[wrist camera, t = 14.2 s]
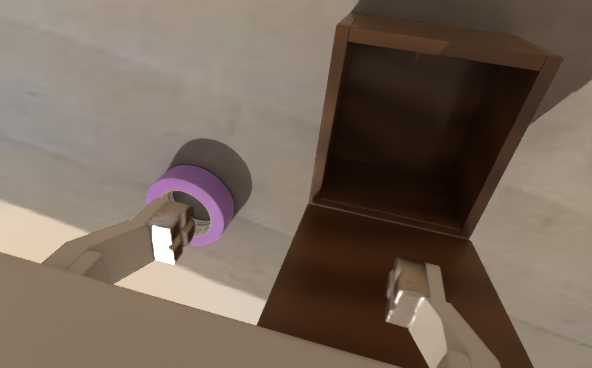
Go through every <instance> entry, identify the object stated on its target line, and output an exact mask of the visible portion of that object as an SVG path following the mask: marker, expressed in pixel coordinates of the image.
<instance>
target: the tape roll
mask: <svg viewBox="0 0 592 368" xmlns="http://www.w3.org/2000/svg"><path fill="white" fill-rule="evenodd" d="M173 191H181V192H185V193H187V194H190V195H192V196H193V197H195V198H196V199H198V200H199V201H200V202H201V203H202V204H203V205H204V206H205V208H206V209H207V211H208V213H209V215H210V220H206V221H204V220H198V219H195V218H193V217H192V219H193V220H194V222H195V233H194V236H193V238H192V240H191V242H190V243H189V245H193V246H205V245H210V244H212V243H214V242H216V241H217V240H218V239H219V238H220V237H221V235H222V234H223V232H224V231H225V229H226V228H227V226H228V224H229V223H230V221H231V220H232V218H233V215H234V202H233V199H232V196H231V194H230V192H229V190H228V189H227V187H226V186H225V185H224V184H223V182H222V181H221V180H220V179H218V178H217V177H216V176H215V175H213V174H212V173H210V172H209V171H207V170H205V169H202V168H200V167H196V166H192V165H179V166H176V167H173V168H171V169H169V170H168V171H167V172H166V173H165V174H163V175H162V176H161V177H160V178H159V179H158V180H157V181H156V182H154V183H153V184H152V185H151V187H150V188H149V190H148V192H147V196H146V203H147V206H148V205H149V204H150V203H151V202H152V201H153V200H154V199H155V198H158V197H159V198H163V199H166V200H171V201H175V200H174V197H173Z"/></svg>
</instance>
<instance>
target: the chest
mask: <svg viewBox="0 0 592 368" xmlns="http://www.w3.org/2000/svg"><path fill="white" fill-rule="evenodd" d="M562 61H563V58H562V57H560V56H558V55H555V54H553V53H551V52H549V51H547V50H545V49H543V48H540V47H538V46H536V45H534V44H532V43H530V42H527V41H525V40H523V39H521V38H519V37H517V36H513V35H505V34H498V33H491V32H484V31H477V30H470V29H463V28H456V27H449V26H442V25H435V24H428V23H421V22H414V21H407V20H400V19H393V18H386V17H379V16H372V15H365V14H358V13H349V14H348V15H347V16H346V17H345V18H344V19H343V20H342V21H341V22H340V23H338V24H337V26H336V32H335V38H334V44H333V51H332V57H331V64H330V70H329V76H328V83H327V89H326V96H325V102H324V108H323V115H322V121H321V128H320V134H319V140H318V147H317V153H316V159H315V166H314V172H313V179H312V185H311V191H310V198H309V204H313V205H317V206H318V205H319V206H321V207H326V208H330V209H335V210H339V211H343V212H348V213H352V214H356V215H361V216H365V217H370V218H374V219H378V220H383V221H387V222H392V223H396V224H400V225H405V226H409V227H414V228H418V229H422V230H427V231H431V232H436V233H440V234H444V235H449V236H453V237H457V238H462V239H466V240H469V238H470V236H471V234H472V233H473V231H474V229H475V227H476V225H477V223H478V221H479V219H480V217H481V215H482V213H483V212H484V210H485V208H486V206H487V204H488V202H489V200H490V198H491V196H492V194H493V192H494V191H495V189H496V187H497V185H498V183H499V181H500V179H501V177H502V175H503V173H504V171H505V170H506V168H507V166H508V164H509V162H510V160H511V158H512V156H513V154H514V152H515V150H516V148H517V147H518V145H519V143H520V141H521V139H522V137H523V135H524V133H525V131H526V129H527V127H528V126H529V124H530V122H531V120H532V118H533V116H534V114H535V112H536V110H537V108H538V106H539V105H540V103H541V101H542V99H543V97H544V95H545V93H546V91H547V89H548V87H549V85H550V84H551V82H552V80H553V78H554V76H555V74H556V72H557V70H558V68H559V66H560V64H561V62H562Z"/></svg>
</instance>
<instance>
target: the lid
mask: <svg viewBox="0 0 592 368" xmlns="http://www.w3.org/2000/svg"><path fill="white" fill-rule="evenodd" d="M397 256H398V257H402V258H407V259H411V260H415V261H419V262H423V263H428V264H433V265H437V266H439V267H440V270H441V276H442V281H443V287H444V293H445V298H446V302H448V303H451V305H452V306H453V307H454V308H455V309H456V311H457V312H458V313H459V314H460V315H461V317H462V318H463V319H464V320H465V321H466V323H467V324H468V325H469V326H470V327H471V329H472V330H473V331H474V332H475V333H476V334H477V336H478V337H479V338H480V339H481V340H482V342H483V343H484V344H485V345H486V346H487V348H488V349H489V350H490V351H491V352H492V354H493V355H494V356H495V357H496V358H497V360H498V361H499V362H500V366H501V368H534V367H533V365H532V363H531V361H530V359H529V357H528V355H527V353H526V351H525V349H524V347H523V345H522V343H521V341H520V339H519V337H518V335H517V333H516V331H515V329H514V327H513V325H512V323H511V321H510V319H509V317H508V315H507V313H506V311H505V309H504V307H503V304H502V302H501V300H500V298H499V296H498V294H497V292H496V290H495V288H494V286H493V284H492V282H491V280H490V278H489V276H488V274H487V272H486V270H485V268H484V266H483V264H482V262H481V260H480V258H479V256H478V254H477V252H476V250H475V248H474V246H473V244H472V242H471V241H470V240H466V239H462V238H457V237H453V236H449V235H444V234H440V233H436V232H431V231H427V230H422V229H418V228H414V227H409V226H405V225H400V224H396V223H392V222H387V221H383V220H378V219H374V218H370V217H365V216H361V215H356V214H352V213H348V212H343V211H339V210H335V209H330V208H326V207H321V206H317V205H313V204H308V205H307V207H306V210H305V212H304V214H303V217H302V219H301V222H300V224H299V226H298V229H297V231H296V233H295V236H294V238H293V241H292V243H291V245H290V248H289V250H288V252H287V255H286V257H285V259H284V262H283V264H282V267H281V269H280V271H279V274H278V276H277V278H276V281H275V283H274V285H273V288H272V290H271V293H270V295H269V297H268V300H267V302H266V304H265V307H264V309H263V311H262V314H261V316H260V319H259V321H258V323H257V326H259V327H263V328H266V329H270V330H273V331H276V332H280V333H283V334H287V335H290V336H294V337H297V338H301V339H304V340H308V341H311V342H315V343H318V344H322V345H325V346H329V347H332V348H336V349H339V350H343V351H346V352H350V353H353V354H356V355H360V356H363V357H367V358H370V359H374V360H377V361H381V362H384V363H388V364H391V365H395V366H398V367H402V368H429V366H428V364H427V362H426V360H425V359H424V357H423V355H422V353H421V351H420V350H419V348H418V346H417V344H416V342H415V340H414V339H413V337H412V335H411V333H410V331H409V328H405V327H402V326H399V325H395V324H392V323H389V322H385V306H386V304H387V301H388V299H387V297H386V284H387V280H388V276H389V273H390V271H392V270H393V263H394V261H395V259H396V257H397Z"/></svg>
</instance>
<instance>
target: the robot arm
mask: <svg viewBox="0 0 592 368" xmlns="http://www.w3.org/2000/svg"><path fill="white" fill-rule="evenodd" d="M193 215H194V208H193V207H192V206H189V205H186V204H182V203H178V202H175V201H171V200H166V199H163V198H159V197H158V198H155V199H154V200H153V201H152V202H151V203H150V204H149V205H148V206H147V207H146V208H144V209H143V210H142V211H141V212H140V213H139V214H138V215H137V216H136V217H135V218H134V219H133V220H132V221H130V220H127V221H125V222H122V223H119V224H116V225H113V226H111V227H108V228H105V229H102V230H99V231H97V232H94V233H91V234H88V235H85V236H83V237H80V238H77V239H74V240H72V241H69V242H66V243H65V244H64V245H62V246H61V247H60V248H59V249H58V250H57V251H55V252H54V253H53V254H52V255H51V256H49V257H48V258H47V259H46V260H45V261H44V262H42V263H41V264H40V263H36V262H33V261H30V260H26V259H23V258H19V257H15V256H12V255H9V254H5V253H1V252H0V368H402V367H398V366H395V365H391V364H388V363H384V362H381V361H377V360H374V359H370V358H367V357H363V356H360V355H356V354H353V353H350V352H346V351H343V350H339V349H336V348H332V347H329V346H325V345H322V344H318V343H315V342H311V341H308V340H304V339H301V338H297V337H294V336H290V335H287V334H283V333H280V332H276V331H273V330H270V329H266V328H263V327H259V326H256V325H252V324H249V323H245V322H242V321H238V320H235V319H231V318H228V317H224V316H221V315H217V314H214V313H210V312H207V311H203V310H200V309H196V308H193V307H190V306H186V305H183V304H179V303H175V302H172V301H169V300H165V299H161V298H158V297H155V296H151V295H148V294H144V293H141V292H137V291H134V290H130V289H127V288H124V287H120V286H116V285H113V284H114V283H116V282H118V281H120V280H121V279H123V278H125V277H126V276H128V275H130V274H132V273H133V272H135V271H137V270H139V269H140V268H142V267H144V266H146V265H147V264H149V263H151V262H153V261H154V259H155V260H159V261H163V262H167V263H171V264H175V262H176V261H177V260H178V258H179V257H180V256H181V254H182V253H183V248H182V247H184V246H186V245H189V243H190V242H191V240H192V238H193V236H194V233H195V222H194V220H193V219H192V217H193ZM386 297H387V299H388V301H387V304H386V306H385V322H389V323H392V324H395V325H399V326H402V327H405V328H409V331H410V333H411V335H412V337H413V339H414V340H415V342H416V344H417V346H418V348H419V350H420V351H421V353H422V355H423V357H424V359H425V360H426V362H427V364H428V366H429V368H501V366H500V362H499V361H498V360H497V358H496V357H495V356H494V355H493V354H492V352H491V351H490V350H489V349H488V348H487V346H486V345H485V344H484V343H483V342H482V340H481V339H480V338H479V337H478V336H477V334H476V333H475V332H474V331H473V330H472V329H471V327H470V326H469V325H468V324H467V323H466V321H465V320H464V319H463V318H462V317H461V315H460V314H459V313H458V312H457V311H456V309H455V308H454V307H453V306H452V305H451V303H448V302H446V298H445V293H444V287H443V281H442V276H441V270H440V267H439V266H437V265H433V264H428V263H423V262H419V261H415V260H411V259H407V258H402V257H398V256H397V257H396V259H395V261H394V263H393V270H392V271H390V273H389V276H388V280H387V284H386Z"/></svg>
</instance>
